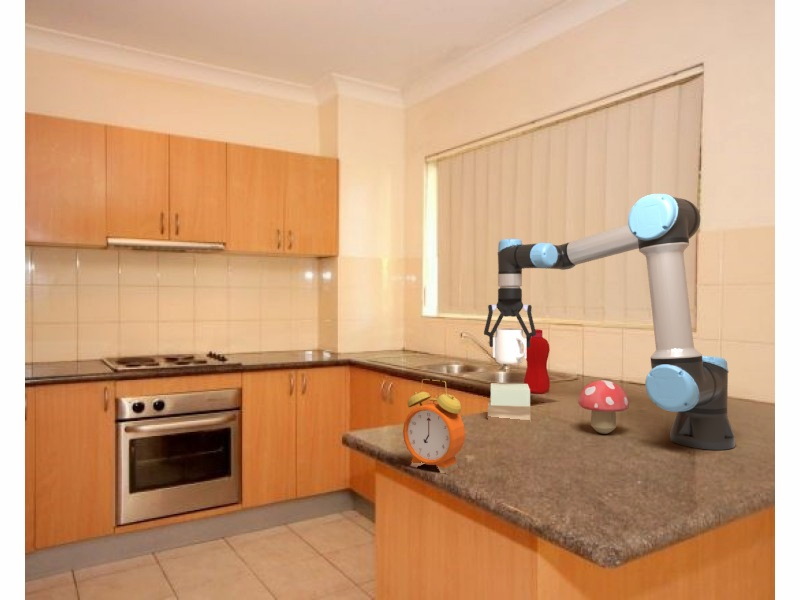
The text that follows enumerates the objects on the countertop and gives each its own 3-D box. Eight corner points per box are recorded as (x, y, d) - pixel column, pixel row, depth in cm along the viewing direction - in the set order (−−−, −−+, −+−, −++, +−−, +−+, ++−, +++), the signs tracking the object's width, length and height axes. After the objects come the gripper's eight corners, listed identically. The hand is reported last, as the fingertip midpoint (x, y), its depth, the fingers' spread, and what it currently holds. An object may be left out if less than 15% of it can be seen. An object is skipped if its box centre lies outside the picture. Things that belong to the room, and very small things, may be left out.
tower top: (530, 406, 173) (530, 390, 173) (490, 405, 175) (490, 389, 175) (527, 398, 185) (527, 383, 185) (490, 398, 187) (490, 383, 187)
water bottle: (553, 390, 227) (553, 328, 227) (544, 394, 218) (544, 330, 217) (530, 388, 232) (530, 328, 232) (521, 392, 223) (521, 329, 222)
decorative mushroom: (637, 439, 151) (637, 384, 151) (588, 439, 151) (587, 384, 151) (617, 427, 165) (617, 376, 165) (572, 428, 165) (572, 377, 165)
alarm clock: (401, 466, 129) (401, 379, 129) (416, 459, 134) (415, 376, 134) (452, 476, 122) (452, 384, 121) (465, 469, 127) (465, 381, 127)
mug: (514, 366, 173) (514, 331, 173) (490, 361, 183) (490, 329, 183) (535, 364, 177) (535, 330, 177) (510, 360, 187) (510, 328, 187)
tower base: (530, 423, 173) (530, 406, 173) (487, 421, 175) (487, 405, 175) (529, 414, 185) (529, 398, 185) (490, 412, 188) (490, 397, 188)
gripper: (544, 287, 181) (544, 357, 182) (476, 287, 186) (476, 355, 186) (545, 287, 174) (545, 359, 174) (474, 287, 179) (474, 358, 179)
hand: (509, 357), depth 180 cm, fingers closed on mug, 9 cm apart
